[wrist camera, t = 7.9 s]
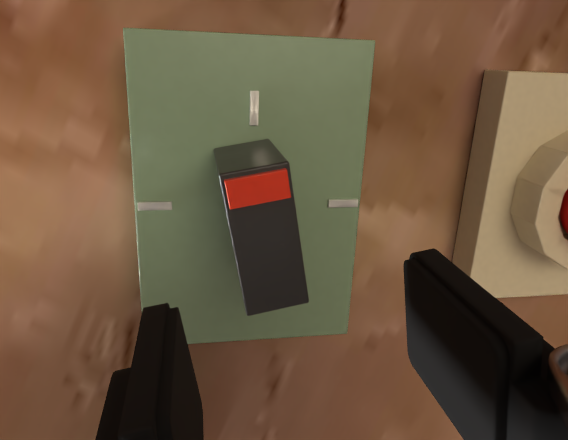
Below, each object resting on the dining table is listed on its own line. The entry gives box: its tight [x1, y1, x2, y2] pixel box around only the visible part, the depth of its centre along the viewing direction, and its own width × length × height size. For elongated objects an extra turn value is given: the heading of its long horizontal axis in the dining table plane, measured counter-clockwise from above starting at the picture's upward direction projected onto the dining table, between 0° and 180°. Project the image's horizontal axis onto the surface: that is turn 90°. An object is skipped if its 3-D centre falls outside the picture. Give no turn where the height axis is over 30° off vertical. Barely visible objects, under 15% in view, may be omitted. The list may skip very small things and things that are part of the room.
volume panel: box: [123, 28, 375, 344], centre depth 22 cm, size 14×10×3 cm
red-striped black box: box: [214, 139, 309, 316], centre depth 19 cm, size 6×2×5 cm, turn 8°
